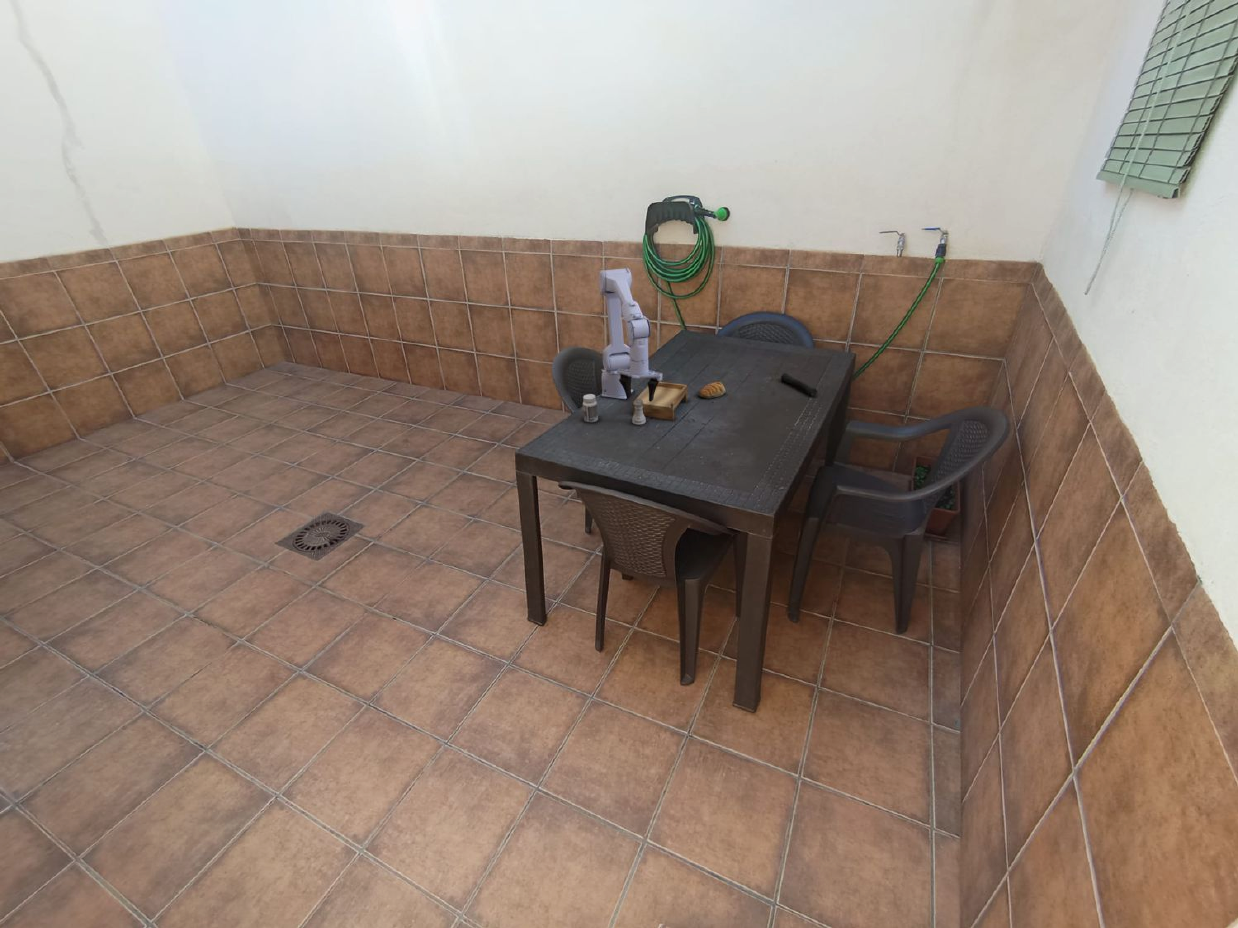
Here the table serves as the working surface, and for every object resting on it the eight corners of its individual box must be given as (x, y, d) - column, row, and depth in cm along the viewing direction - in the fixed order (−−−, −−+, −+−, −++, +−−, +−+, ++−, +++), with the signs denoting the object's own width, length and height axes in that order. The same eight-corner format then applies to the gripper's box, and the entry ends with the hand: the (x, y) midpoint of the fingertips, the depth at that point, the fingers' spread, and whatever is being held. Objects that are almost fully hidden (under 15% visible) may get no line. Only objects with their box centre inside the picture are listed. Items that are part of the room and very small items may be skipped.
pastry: (708, 401, 195) (708, 391, 193) (694, 395, 200) (694, 386, 198) (726, 393, 200) (727, 383, 198) (712, 388, 205) (713, 378, 203)
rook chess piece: (647, 420, 184) (647, 398, 180) (642, 426, 181) (642, 404, 177) (635, 418, 186) (634, 396, 182) (630, 424, 183) (629, 402, 179)
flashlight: (787, 379, 209) (788, 372, 207) (817, 395, 196) (818, 387, 194) (780, 381, 208) (781, 373, 206) (810, 397, 195) (811, 389, 193)
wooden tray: (633, 414, 189) (632, 398, 186) (649, 395, 201) (649, 380, 198) (672, 420, 184) (673, 403, 181) (687, 400, 196) (687, 385, 193)
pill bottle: (600, 417, 188) (598, 394, 184) (595, 423, 184) (593, 400, 180) (587, 415, 189) (585, 392, 185) (581, 421, 186) (579, 398, 181)
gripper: (612, 360, 172) (614, 400, 179) (656, 365, 167) (657, 406, 174) (621, 352, 177) (622, 392, 184) (664, 357, 172) (664, 397, 179)
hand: (640, 398), depth 179 cm, fingers open, 7 cm apart
